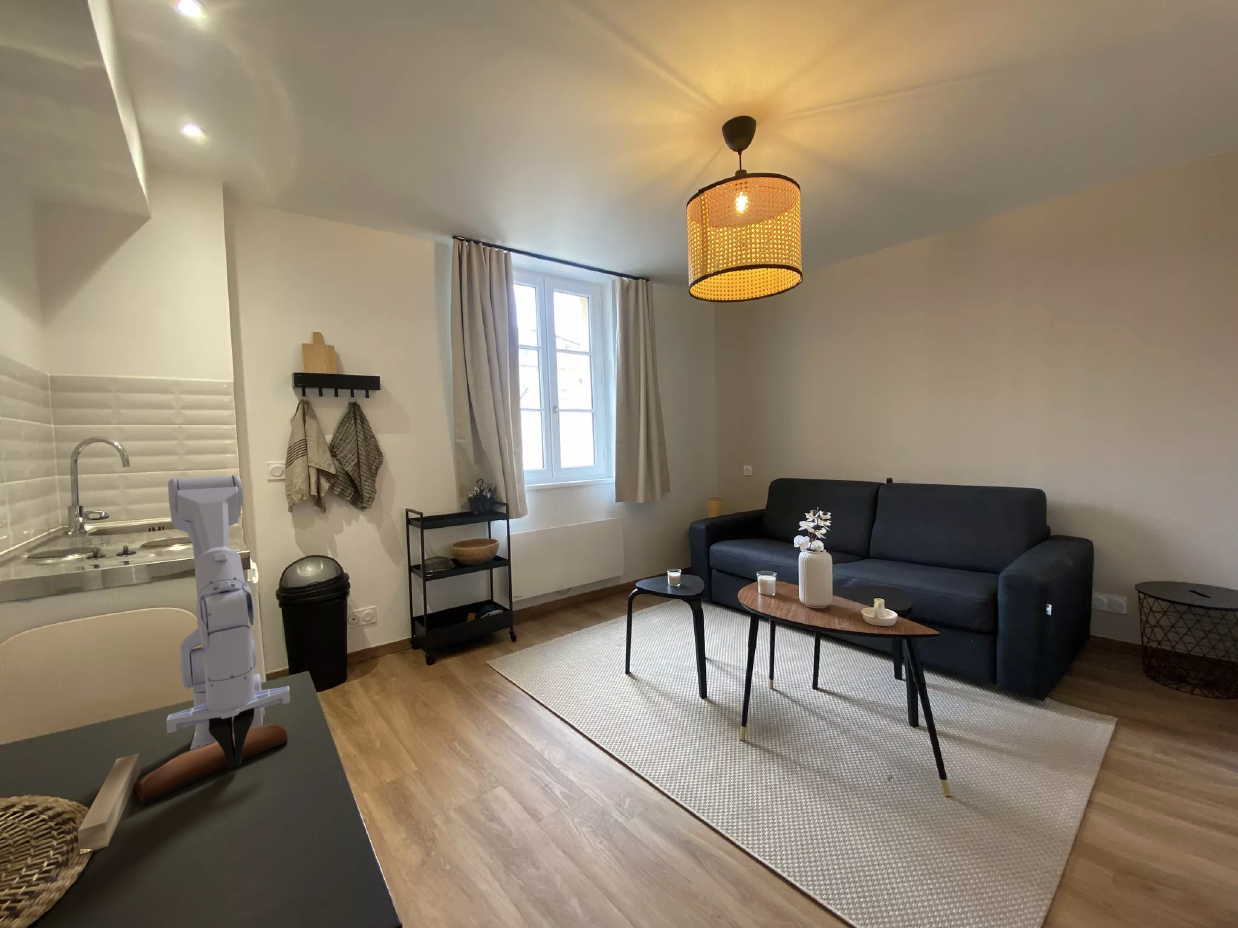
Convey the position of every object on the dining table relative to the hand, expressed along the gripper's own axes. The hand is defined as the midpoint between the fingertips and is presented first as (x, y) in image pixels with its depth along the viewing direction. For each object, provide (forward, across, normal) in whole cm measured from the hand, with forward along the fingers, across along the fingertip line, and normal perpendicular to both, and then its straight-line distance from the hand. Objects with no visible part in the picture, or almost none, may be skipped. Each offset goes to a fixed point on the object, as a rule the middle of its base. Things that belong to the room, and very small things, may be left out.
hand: (235, 762), depth 77 cm
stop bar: (+1, -13, 0) cm, 13 cm away
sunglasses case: (+2, -3, +5) cm, 6 cm away
